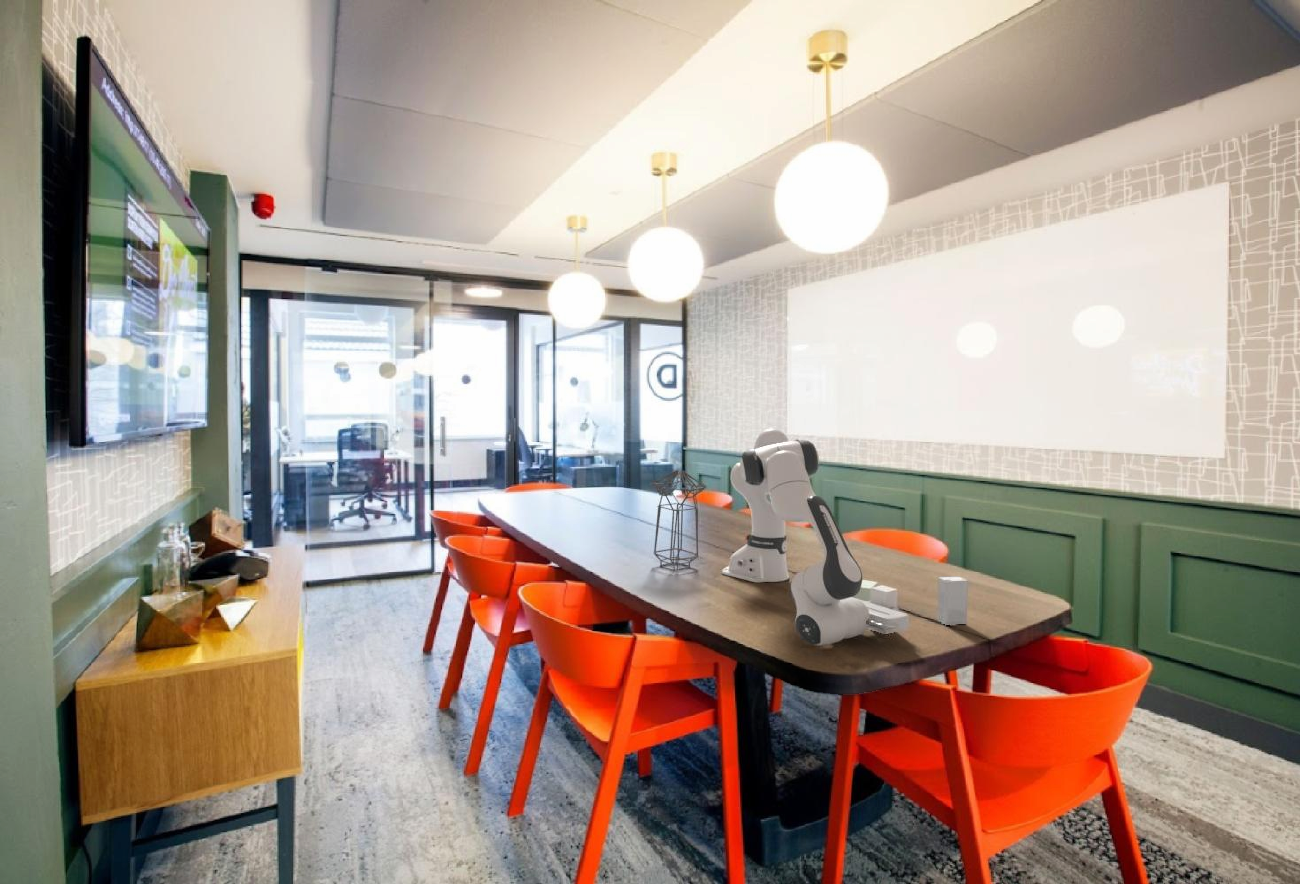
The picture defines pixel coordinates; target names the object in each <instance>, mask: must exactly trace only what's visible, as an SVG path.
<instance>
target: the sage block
mask: <svg viewBox="0 0 1300 884" xmlns="http://www.w3.org/2000/svg"><path fill="white" fill-rule="evenodd" d="M877 586H879V582H878V581H872V580H867V579H862V585H861V588H860V591H859V592H858V594H857V595H855V596H853V598H856V599H860V600H863V601H871V588H873V587H877Z"/></svg>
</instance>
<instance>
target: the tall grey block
mask: <svg viewBox="0 0 1300 884" xmlns="http://www.w3.org/2000/svg"><path fill="white" fill-rule="evenodd" d="M898 590H899V589H897V588H894V587H890V586H886V585H883V584H882V585H878V586H877V587H873V588H871V603H873V604H876V605H879V606H883V607H886V608H889V609H890V607H896V608H898ZM869 629H870V630H869V631H871V630H872V631H871V632H874V631H877V632H880V633H882V634H881V635H883V634H888V633H887V632H883V631H880V630H877V629H874V628H871V627H869ZM877 632H876V633H877ZM880 633H879V634H880Z"/></svg>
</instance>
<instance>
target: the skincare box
mask: <svg viewBox="0 0 1300 884" xmlns="http://www.w3.org/2000/svg"><path fill="white" fill-rule="evenodd" d="M968 586H969V580H967V579H965V578H963V577H960V576H946V577H945V576H943V577H942V576H940V577H938V582H937V587H938V588H937V590H938V591H937V618H936V619H937V622H939V623H940V622H941V623H940V624H941V625H943V624H945V625H944V626H946V625H950V626H954V625H953V624H967V623H968V620H967V619H968V598H969V596H968V593H969V592H968V591H969V587H968ZM967 625H968V624H967Z"/></svg>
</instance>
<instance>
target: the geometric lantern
mask: <svg viewBox="0 0 1300 884" xmlns="http://www.w3.org/2000/svg"><path fill="white" fill-rule="evenodd" d="M668 477H669V478H668ZM665 479H666V480H665ZM662 480H665V481H664V482H663V483H659V482H660V481H662ZM693 480H694V481H695V482H697V485H696V484H695V483H694V482H693ZM678 483H679V488H677V487H678ZM681 483H682V485H683V486H684V487H682V486H681ZM698 484H700V485H698ZM649 485H652V486H653V488H654V489H656V491H657V492H658V494H659V495H658V496H660V501H659V504H658V505H657V506H656V507H657V513H656V514H657V517H656V527H655V528H656V529H655V539H654V549H653V555H654V556H655V557H656V558H657V559H658V560H659V562H660V563H659V567H660V568H663V569H666V570H669V571H673V572H674V571H675V572H676V571H680V570H681V571H682V570H684V569H688V568H691V563H692V562H693V561H695V559H697V558H699V507H698V499H697V495H699V493H701V492H702V491H704V490H705V489H706V488H707V487H708V485H706V484H704V483H703V482H701V481H700V480H698V479H697V478H695V477H693V475H690V474H688V472H686V471H684V470H682V469H676V470H674V471H672V472H669V473H668V474H666V475H664V476H663V477H662V476H661V477H660V478H659V479H656V480H654V481H653V482H650V484H649ZM672 485H673V487H671V486H672ZM688 486H690V488H689V487H688ZM674 491H681V493H683V495H684V496H685V497H684V499H683V500H682V502H679V501H678V499H677V498H676V496H675V495H674V493H673V492H674ZM685 491H686V492H685ZM690 494H692V495H690ZM669 495H672V496H673V498H674V500H676V502H674V503H671V501H670V499H669V497H668V496H669ZM689 495H690V496H689ZM663 497H665V498H666V500H667V502H668V503H665V504H661V503H662V500H663ZM687 499H693V504H694V505H689V504H685V502H686V500H687ZM672 505H676V509H675V508H673V506H672ZM664 506H670V508H669V507H664ZM684 506H686V507H690V508H686V509H685V508H684ZM691 507H692V508H691ZM662 509H665V510H669V511H672V518H671V520H672V521H671V534H670V536H671V537H670V548H666V549H661V550H657V544H658V543H657V541H658V537H659V527H660V526H659V525H660V518H661V510H662ZM691 510H694V511H695V513H694V514H695V515H694V516H695V536H696V537H695V538H696V539H695V545H696V546H695V547H696V553H695V552H693V551H690V550H686V549H683V522H684V521H683V520H684V519H683V517H684V514H683V513H684V511H691ZM675 513H676V514H675ZM680 513H681V516H680ZM680 518H681V519H680ZM674 521H675V522H674ZM674 523H675V524H674ZM674 525H675V526H674ZM676 535H677V547H676ZM673 536H674V537H673ZM675 550H676V551H677V555H676V556H675ZM668 551H669V557H667V556H664V555H661V554H659V553H662V552H668ZM681 551H682V552H685V553H688V554H691V555H694V556H688V557H683V558H682V557H681V558H680V552H681ZM660 557H661V558H662V559H661V558H660ZM666 560H668V561H670V562H668V561H666ZM679 561H686V562H681V563H680V562H679ZM662 562H663V563H664V564H662ZM666 565H672V566H673V568H670V567H666ZM681 565H682V566H685V567H680V568H679V566H681ZM675 568H676V569H675Z"/></svg>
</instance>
